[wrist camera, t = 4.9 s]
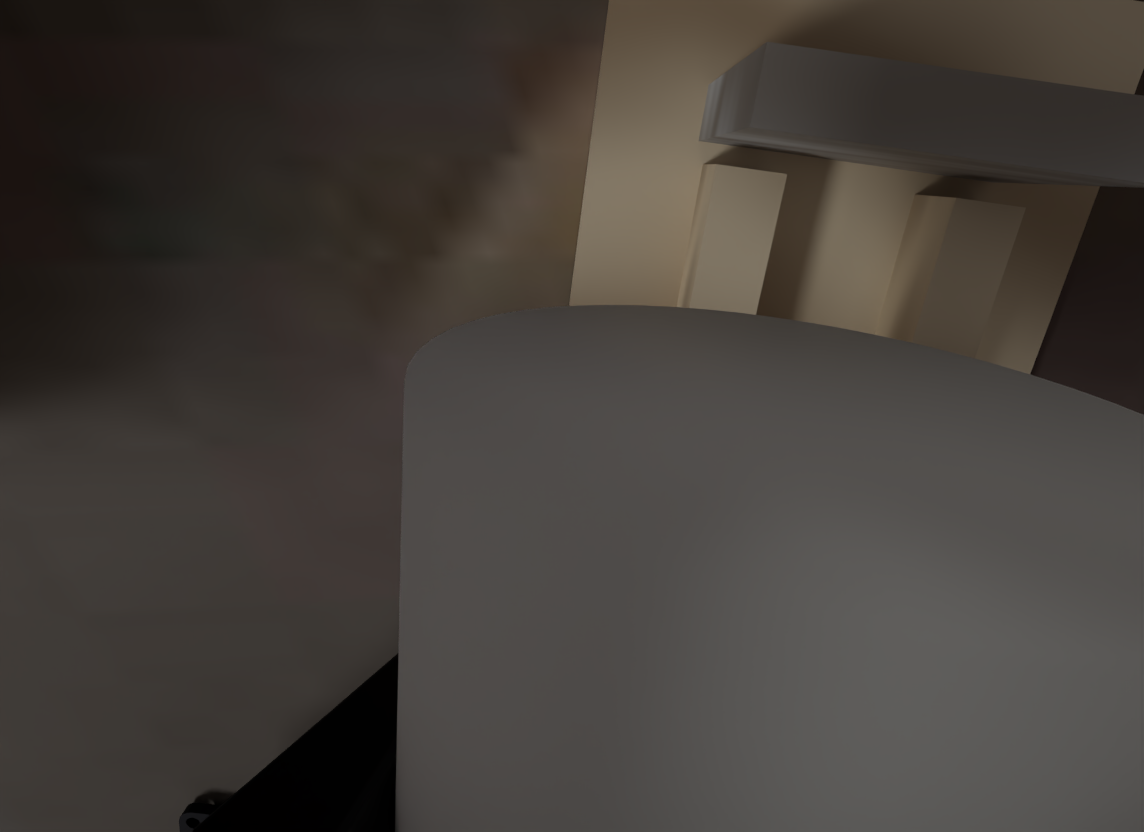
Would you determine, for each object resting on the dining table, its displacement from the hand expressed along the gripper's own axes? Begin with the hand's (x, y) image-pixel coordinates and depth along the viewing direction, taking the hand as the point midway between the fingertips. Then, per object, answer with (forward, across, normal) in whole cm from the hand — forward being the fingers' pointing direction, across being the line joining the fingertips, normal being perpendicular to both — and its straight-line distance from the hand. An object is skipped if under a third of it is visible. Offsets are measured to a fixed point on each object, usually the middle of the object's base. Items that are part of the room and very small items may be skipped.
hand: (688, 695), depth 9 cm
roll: (+1, 0, 0) cm, 1 cm away
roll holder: (+11, -4, -1) cm, 12 cm away
